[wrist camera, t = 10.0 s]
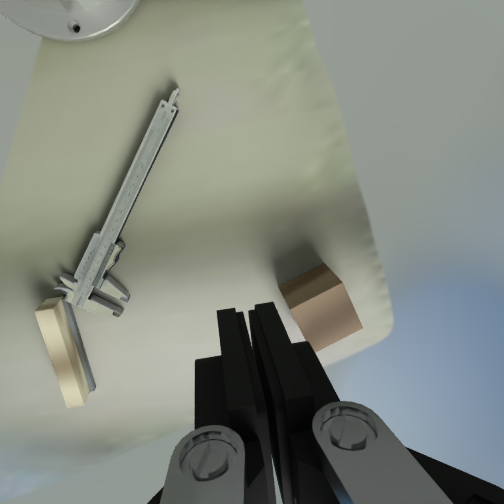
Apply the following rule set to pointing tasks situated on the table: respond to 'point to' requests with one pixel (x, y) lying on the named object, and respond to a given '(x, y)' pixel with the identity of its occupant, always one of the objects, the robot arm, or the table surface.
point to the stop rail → (66, 350)
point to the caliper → (117, 225)
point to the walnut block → (321, 307)
